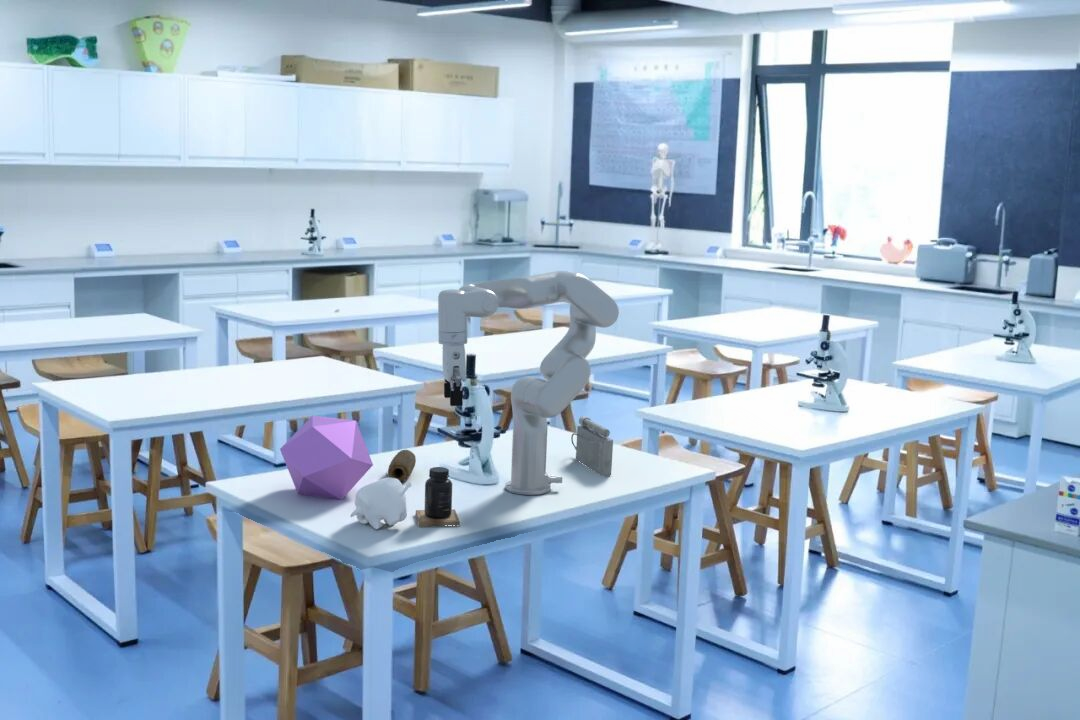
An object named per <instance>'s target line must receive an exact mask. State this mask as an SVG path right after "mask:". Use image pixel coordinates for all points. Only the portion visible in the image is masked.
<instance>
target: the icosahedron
mask: <svg viewBox="0 0 1080 720" xmlns="http://www.w3.org/2000/svg"><path fill="white" fill-rule="evenodd" d="M358 424H359V423H358V422H357V420H353V419H345V418H337V417H329V416H320V415H311V417H310V418H308V419H307V420H306V421H305V423H303V424H302V426H301V427H299V429H298V430H297V431H296V432H295V433H294V434H293V435H292V436H291V437H290V438H289V439H288V440H287V441H286V442H285V443H284V444H283V445H282V446H281V447H280V448H279V450H280V453H281V455H282V458H283V461H284V462H285V463H284V464H285V465H286V468H287V470H288V473H289V476H290V477H291V481H292V482H293V485H294V488H295V490H296V493H297V494H298V493H299V495H306V496H313V497H320V498H327V499H333V500H339V501H340V500H341V501H342V500H343V499H344V498H345V497H346V496H347V494H349V492H351V490H352V489H353V488H354V487H355V486H356V485H357V483H359V481H360V480H361V479H362V478H363V477H364V476H365V475H366V474H367V472H369V470H370V469H371V468H372V467H373V466H374V464H373V461H372V458H371V456H370V453H369V450H368V448H367V445H366V442H365V441H364V438H363V435H362V432H361V430H360V427H359V425H358Z"/></svg>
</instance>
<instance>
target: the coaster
mask: <svg viewBox="0 0 1080 720" xmlns="http://www.w3.org/2000/svg"><path fill="white" fill-rule="evenodd" d="M415 517H416V521H417V524H418V527H419V528H426V527H425V526H445V525H447V527H449V526H448V525H452V526H451V527H458V526H457V525H460V524H461V521H460V519H459V516H458V513H457V512H456V509H455V508H454V509H452V513H451V516H450V517H448V518H445V519H432V518H428V517H427V516H426V515H425V509H420V510H419V509H416V510H415ZM453 525H455V526H453Z"/></svg>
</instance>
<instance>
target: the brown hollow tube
mask: <svg viewBox="0 0 1080 720" xmlns="http://www.w3.org/2000/svg"><path fill="white" fill-rule="evenodd" d="M416 459H417V458H416V455H415V454H414V452H413V451H411V450H409V449H402V450H400V451H398V452H397V453H396V455H395V456H394V457H393V459H392V460H391V462H390V463H389V465H388V469H387V474H388V478H396V479H398V480H399V481H400V482H405V481H407V480H408V479H409V477H411V475H412V472H413V471H414V469H415V467H416Z"/></svg>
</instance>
